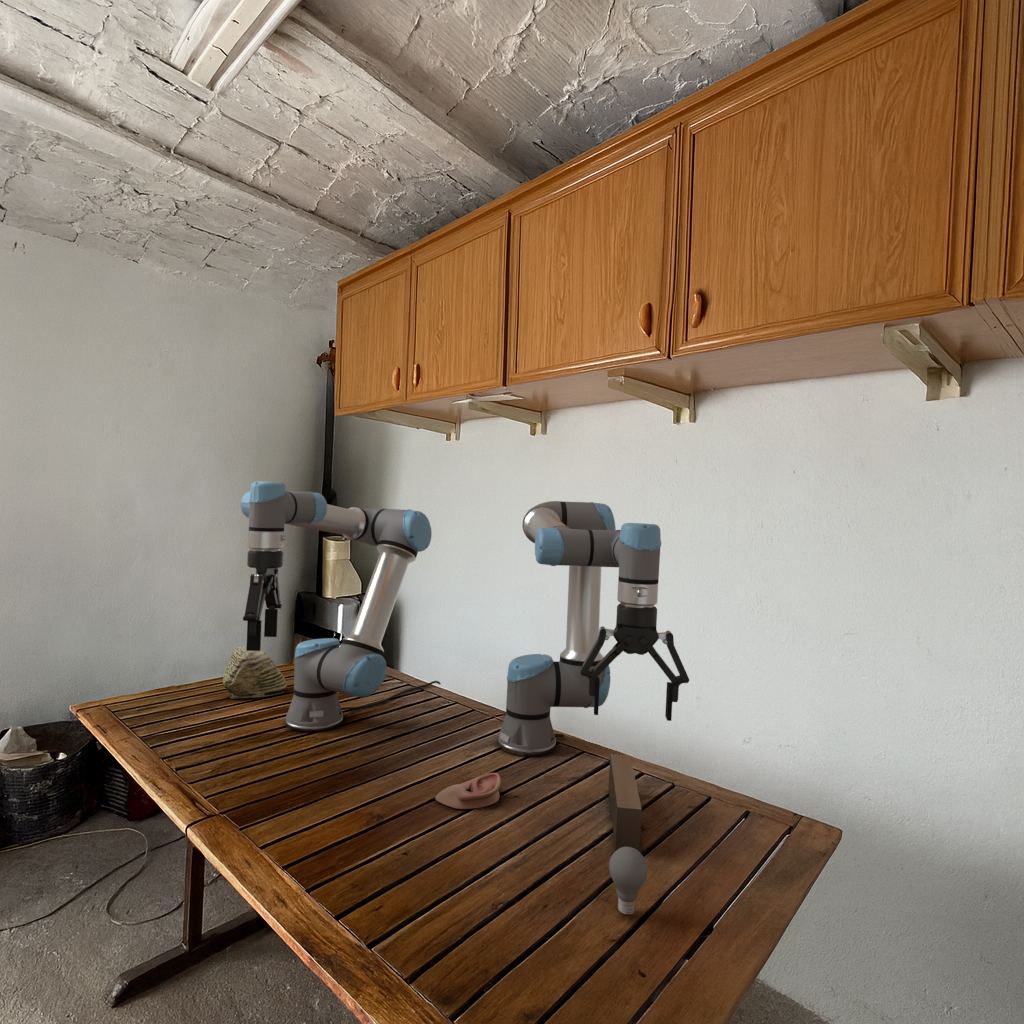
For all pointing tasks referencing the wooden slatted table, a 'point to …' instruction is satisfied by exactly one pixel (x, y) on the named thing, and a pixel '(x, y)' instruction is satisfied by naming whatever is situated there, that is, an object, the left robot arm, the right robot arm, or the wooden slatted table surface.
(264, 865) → the wooden slatted table surface
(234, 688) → the fossil
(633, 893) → the light bulb
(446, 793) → the anatomical model
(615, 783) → the bar
